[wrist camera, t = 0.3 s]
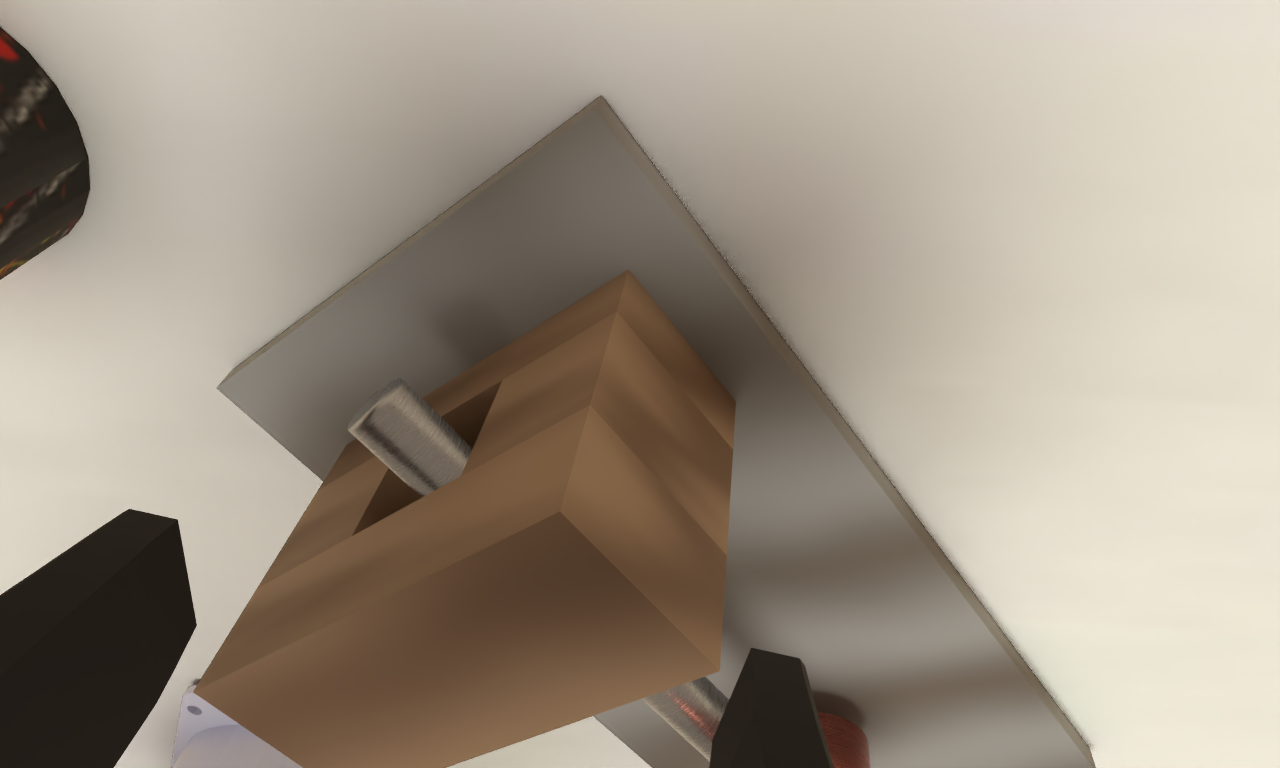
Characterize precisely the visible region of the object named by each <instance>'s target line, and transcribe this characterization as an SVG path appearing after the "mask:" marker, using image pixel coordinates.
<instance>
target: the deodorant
mask: <svg viewBox="0 0 1280 768" xmlns="http://www.w3.org/2000/svg"><path fill="white" fill-rule="evenodd" d="M89 189H90V187H89V171H88V157H87V154H86V151H85V148H84V145H83V142H82V138H81V135H80V132H79V129H78V126H77V123H76V121H75V119H74V118H73V116H72V114H71V112H70V111H69V109H68V107H67V105H66V103H65V102H64V100H63V98H62V96H61V95H60V93H59V91H58V89H57V88H56V86H55V85H54V84H53V82H52V81H51V80H50V79H49V77H48V76H47V75H46V74H45V73H44V71H43V70H42V69H41V68H40V66H39V65H38V64H37V63H36V62H35V60H34V59H33V58H32V57H31V56H30V54H29V53H28V52H27V51H26V50H25V49H24V48H23V47H22V46H20V45H19V44H18V43H17V42H16V41H15V40H14V39H12V38H11V37H10V36H9V35H8V34H7V33H6V32H4V31H3V30H2V29H1V28H0V280H1V279H2V278H4V277H5V276H7V275H8V274H10V273H11V272H13V271H14V270H16V269H17V268H19V267H20V266H21V265H23V264H24V263H26V262H27V261H29V260H30V259H32V258H33V257H35V256H36V255H38V254H39V253H41V252H42V251H44V250H45V249H47V248H48V247H49V246H51V245H52V244H54V243H55V242H57V241H58V240H60V239H61V238H63V237H64V236H66V235H67V234H68V233H69V232H70V231H71V229H72V228H73V227H74V225H75V224H76V223H77V221H78V220H79V219H80V217H81V216H82V215H83V211H84V208H85V204H86V200H87V197H88V193H89Z"/></svg>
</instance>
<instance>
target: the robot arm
mask: <svg viewBox="0 0 1280 768" xmlns="http://www.w3.org/2000/svg"><path fill="white" fill-rule="evenodd" d="M196 626H197V624H196V619H195V613H194V608H193V602H192V596H191V591H190V585H189V580H188V574H187V568H186V563H185V557H184V552H183V546H182V541H181V535H180V529H179V524H178V520H177V519H172V518H168V517H163V516H159V515H154V514H150V513H145V512H141V511H136V510H132V509H128V510H127V511H125V512H123V513H122V514H120V515H119V516H117V517H116V518H114V519H113V520H111V521H109V522H108V523H106V524H105V525H103V526H102V527H100V528H99V529H97V530H96V531H94V532H93V533H92V534H90V535H89V536H87V537H86V538H84V539H83V540H81V541H80V542H78V543H77V544H75V545H74V546H72V547H71V548H69V549H68V550H66V551H65V552H64V553H62V554H61V555H59V556H58V557H56V558H55V559H53V560H52V561H50V562H49V563H47V564H46V565H44V566H43V567H41V568H40V569H38V570H37V571H35V572H34V573H33V574H31V575H30V576H28V577H27V578H25V579H24V580H22V581H21V582H19V583H18V584H16V585H15V586H13V587H12V588H10V589H9V590H7V591H6V592H4V593H3V594H1V595H0V768H114V766H115V765H116V763H117V762H118V760H119V759H120V757H121V756H122V754H123V753H124V751H125V750H126V748H127V747H128V745H129V744H130V742H131V741H132V739H133V738H134V736H135V735H136V733H137V732H138V730H139V729H140V727H141V726H142V724H143V723H144V721H145V720H146V718H147V717H148V715H149V714H150V712H151V711H152V709H153V708H154V706H155V705H156V703H157V701H158V699H159V697H160V696H161V694H162V692H163V690H164V688H165V686H166V684H167V682H168V681H169V679H170V677H171V675H172V673H173V671H174V669H175V668H176V666H177V664H178V662H179V660H180V658H181V656H182V654H183V652H184V650H185V648H186V646H187V644H188V642H189V640H190V638H191V636H192V634H193V632H194V630H195V628H196ZM196 686H197V685H192V686H190V687H188V689H187V691H186V692H185V694H184V695H183V697H182V703H181V709H180V715H179V721H178V727H177V733H176V739H175V745H174V750H173V756H172V762H171V768H303V767H301V766H300V765H298V764H297V763H295V762H294V761H292V760H291V759H290V758H288V757H287V756H285V755H284V754H282V753H281V752H279V751H278V750H276V749H275V748H273V747H272V746H271V745H269V744H268V743H266V742H265V741H263V740H262V739H260V738H259V737H257V736H256V735H255V734H253V733H252V732H250V731H249V730H247V729H246V728H244V727H243V726H241V725H240V724H238V723H237V722H236V721H234V720H233V719H231V718H230V717H228V716H227V715H225V714H224V713H222V712H221V711H219V710H218V709H217V708H215V707H214V706H212V705H211V704H209V703H208V702H206V701H205V700H203V699H202V698H201V697H199V696H198V695H196V694H195V693H193V691H194V689H195V688H196ZM709 768H834V765H833V762H832V759H831V755H830V752H829V749H828V746H827V743H826V740H825V736H824V733H823V730H822V726H821V723H820V720H819V716H818V713H817V709H816V706H815V702H814V698H813V694H812V691H811V687H810V683H809V679H808V675H807V671H806V667H805V665H804V664H803V662H802V661H801V659H800V658H796V657H792V656H787V655H783V654H778V653H774V652H769V651H765V650H760V649H756V648H751V649H750V652H749V654H748V656H747V659H746V661H745V664H744V666H743V668H742V671H741V673H740V675H739V678H738V680H737V683H736V685H735V687H734V690H733V692H732V695H731V697H730V699H729V702H728V704H727V706H726V709H725V711H724V714H723V716H722V718H721V721H720V723H719V725H718V728H717V730H716V733H715V735H714V737H713V740H712V748H711V757H710V765H709Z"/></svg>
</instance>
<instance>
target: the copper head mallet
mask: <svg viewBox="0 0 1280 768" xmlns="http://www.w3.org/2000/svg"><path fill="white" fill-rule="evenodd" d="M348 431H349V432H350V433H351V434H353V435H354V436H355V437H356V438H357V439H358V440H359V441H360V442H361V443H362V444H363V445H365V446H366V447H367V448H368V449H369V450H370V451H371V452H372V453H373V454H374V455H375V456H377V457H378V458H379V459H380V460H381V461H382V462H383V463H384V464H385V465H386V466H387V467H389V468H390V469H391V470H392V471H393V472H394V473H395V474H396V475H397V476H398V477H399V478H401V479H402V480H403V481H404V482H405V483H406V484H407V485H408V486H409V487H410V488H411V489H413V490H414V491H415V492H416V493H417V494H418V495H419V496H420V497H421V498H422V497H424V496H426V495H428V494H430V493H431V492H433V491H435V490H437V489H439V488H440V487H442V486H444V485H446V484H448V483H450V482H451V481H453V480H455V479H457V478H459V477H460V476H461V474H462V472H463V470H464V468H465V465H466V463H467V461H468V458H469V456H470V454H471V452H472V449H473V448H472V447H471V446H470V445H469V444H468V443H467V442H466V441H465V440H464V439H463V438H462V437H461V436H460V435H459V434H458V433H457V432H456V431H455V430H454V429H453V428H452V427H451V426H450V425H449V424H448V423H447V422H446V421H445V420H444V419H443V418H442V417H441V416H440V415H439V414H437V413H436V412H435V411H434V410H433V409H432V408H431V407H430V406H429V405H428V404H427V403H426V402H425V401H424V400H423V399H422V398H421V397H420V396H419V395H418V394H417V393H416V392H415V391H414V390H413V389H412V388H411V387H410V386H409V385H408V384H407V383H406V382H405V381H404V380H403V379H402V378H397V379H395V380H393V381H391V382H389V383H388V384H386V385H385V386H383V387H382V388H381V389H379V390H378V391H377V392H376V393H375V394H374V395H373V396H371V397H370V398H369V399H368V400H367V401H366V402H365V403H364V404H363V405H362V407H361V408H360V409H359V410H358V411H357V412H356V414H355V415H354V416H353V418H352V419H351V421H350V423H349V425H348ZM642 700H643V701H644V702H645V703H646V704H647V705H648V706H649V707H651V708H652V709H653V710H654V711H655V712H656V713H657V714H658V715H659V716H660V717H661V718H663V719H664V720H665V721H666V722H667V723H668V724H669V725H670V726H671V727H672V728H674V729H675V730H676V731H677V732H678V733H679V734H680V735H681V736H682V737H683V738H684V739H686V740H687V741H688V742H689V743H690V744H691V745H692V746H693V747H694V748H695V749H696V750H698V751H699V752H700V753H701V754H702V755H703V756H704V757H705V758H706V759H707V760H708V761H710V757H711V748H712V740H713V737H714V735H715V733H716V730H717V728H718V725H719V723H720V721H721V718H722V716H723V714H724V711H725V709H726V706H727V704H728V702H729V699H728V698H727V697H726V696H725V695H724V694H723V693H722V692H721V691H720V690H719V689H718V688H717V687H716V686H715V685H714V684H713V683H712V682H711V681H710V680H709V679H707V678H706V677H702V678H699V679H696V680H693V681H691V682H688V683H685V684H682V685H679V686H676V687H674V688H671V689H668V690H665V691H662V692H659V693H656V694H654V695H651V696H648V697H645V698H642ZM817 713H818V716H819V720H820V723H821V726H822V730H823V733H824V736H825V740H826V743H827V746H828V749H829V752H830V755H831V759H832V762H833V765H834V768H871V766H870V755H869V744H868V739H867V737H866V735H865V733H864V732H863V731H862V730H861V729H860V728H859V727H858V726H857V725H856V724H854V723H853V722H851V721H849V720H847V719H845V718H842V717H839V716H836V715H832V714H827V713H819V712H817Z"/></svg>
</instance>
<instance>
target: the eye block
mask: <svg viewBox="0 0 1280 768" xmlns="http://www.w3.org/2000/svg"><path fill="white" fill-rule="evenodd" d="M397 378H402V379H403V380H404V381H405V382H406V383H407V384H408V385H409V386H410V387H411V388H412V389H413V390H414V391H415V392H416V393H417V394H418V395H419V396H420V397H421V398H422V399H423V400H424V401H425V402H426V403H427V404H428V405H429V406H430V407H431V408H432V409H433V410H434V411H435V412H436V413H437V414H439V415H440V416H441V417H442V418H443V419H444V420H445V421H446V422H447V423H448V424H449V425H450V426H451V427H452V428H453V429H454V430H455V431H456V432H457V433H458V434H459V435H460V436H461V437H462V438H463V439H464V440H465V441H466V442H467V443H468V444H469V445H470V446H471V447H472V448H473V449H472V452H471V454H470V456H469V458H468V461H467V463H466V465H465V468H464V470H463V472H462V474H461V476H460V477H459V478H457V479H455V480H453V481H451V482H450V483H448V484H446V485H444V486H442V487H440V488H439V489H437V490H435V491H433V492H431V493H430V494H428V495H426V496H424V497H422V498H421V497H420V496H419V495H418V494H417V493H416V492H415V491H414V490H413V489H411V488H410V487H409V486H408V485H407V484H406V483H405V482H404V481H403V480H402V479H401V478H399V477H398V476H397V475H396V474H395V473H394V472H393V471H392V470H391V469H390V468H389V467H387V466H386V465H385V464H384V463H383V462H382V461H381V460H380V459H379V458H378V457H377V456H375V455H374V454H373V453H372V452H371V451H370V450H369V449H368V448H367V447H366V446H365V445H363V444H362V443H361V442H360V441H359V440H358V439H357V438H356V437H355V436H354V435H353V434H351V433H350V432H349V431H348V425H349V423H350V421H351V419H352V418H353V416H354V415H355V414H356V412H357V411H358V410H359V409H360V408H361V407H362V405H363V404H364V403H365V402H366V401H367V400H368V399H369V398H370V397H371V396H373V395H374V394H375V393H376V392H377V391H378V390H379V389H381V388H382V387H383V386H385V385H386V384H388V383H389V382H391V381H393V380H395V379H397ZM217 389H218V390H219V391H220V392H221V393H223V394H224V395H225V396H226V397H227V398H228V399H230V400H231V401H232V402H233V403H234V404H235V405H236V406H238V407H239V408H240V409H241V410H242V411H243V412H244V413H246V414H247V415H248V416H249V417H250V418H251V419H252V420H254V421H255V422H256V423H257V424H258V425H259V426H261V427H262V428H263V429H264V430H265V431H266V432H267V433H269V434H270V435H271V436H272V437H273V438H274V439H275V440H277V441H278V442H279V443H280V444H281V445H282V446H284V447H285V448H286V449H287V450H288V451H289V452H290V453H292V454H293V455H294V456H295V457H296V458H297V459H298V460H300V461H301V462H302V463H303V464H304V465H305V466H306V467H308V468H309V469H310V470H311V471H312V472H313V473H315V474H316V475H317V476H318V477H319V478H320V479H321V480H323V481H324V482H323V483H322V485H321V486H320V488H319V490H318V491H317V493H316V495H315V496H314V498H313V499H312V501H311V503H310V504H309V506H308V507H307V509H306V511H305V512H304V514H303V515H302V517H301V519H300V520H299V522H298V524H297V525H296V527H295V528H294V530H293V532H292V533H291V535H290V536H289V538H288V540H287V541H286V543H285V544H284V546H283V548H282V549H281V551H280V552H279V554H278V556H277V557H276V559H275V561H274V562H273V564H272V565H271V567H270V569H269V570H268V572H267V573H266V575H265V577H264V578H263V580H262V581H261V583H260V585H259V586H258V588H257V590H256V591H255V593H254V594H253V596H252V598H251V599H250V601H249V602H248V604H247V606H246V607H245V609H244V610H243V612H242V614H241V615H240V617H239V619H238V620H237V622H236V623H235V625H234V627H233V628H232V630H231V631H230V633H229V635H228V636H227V638H226V639H225V641H224V643H223V644H222V646H221V648H220V649H219V651H218V652H217V654H216V656H215V657H214V659H213V660H212V662H211V664H210V665H209V667H208V668H207V670H206V672H205V673H204V675H203V676H202V678H201V680H200V681H199V683H198V685H197V686H196V688H195V689H194V691H193V693H195V694H196V695H198V696H199V697H201V698H202V699H203V700H205V701H206V702H208V703H209V704H211V705H212V706H214V707H215V708H217V709H218V710H219V711H221V712H222V713H224V714H225V715H227V716H228V717H230V718H231V719H233V720H234V721H236V722H237V723H238V724H240V725H241V726H243V727H244V728H246V729H247V730H249V731H250V732H252V733H253V734H255V735H256V736H257V737H259V738H260V739H262V740H263V741H265V742H266V743H268V744H269V745H271V746H272V747H273V748H275V749H276V750H278V751H279V752H281V753H282V754H284V755H285V756H287V757H288V758H290V759H291V760H292V761H294V762H295V763H297V764H298V765H300V766H301V767H303V768H446V767H449V766H452V765H455V764H457V763H460V762H463V761H466V760H469V759H472V758H474V757H477V756H480V755H483V754H486V753H489V752H491V751H494V750H497V749H500V748H503V747H506V746H509V745H511V744H514V743H517V742H520V741H523V740H526V739H528V738H531V737H534V736H537V735H540V734H543V733H546V732H548V731H551V730H554V729H557V728H560V727H563V726H565V725H568V724H571V723H574V722H577V721H580V720H582V719H585V718H588V717H591V716H594V717H595V718H596V719H597V720H598V721H599V722H601V723H602V724H603V725H604V726H605V727H606V728H607V729H609V730H610V731H611V732H612V733H613V734H614V735H615V736H617V737H618V738H619V739H620V740H621V741H622V742H623V743H625V744H626V745H627V746H628V747H629V748H630V749H632V750H633V751H634V752H635V753H636V754H637V755H638V756H640V757H641V758H642V759H643V760H644V761H645V762H646V763H648V764H649V765H650V766H651V767H652V768H709V765H710V761H708V760H707V759H706V758H705V757H704V756H703V755H702V754H701V753H700V752H699V751H698V750H696V749H695V748H694V747H693V746H692V745H691V744H690V743H689V742H688V741H687V740H686V739H684V738H683V737H682V736H681V735H680V734H679V733H678V732H677V731H676V730H675V729H674V728H672V727H671V726H670V725H669V724H668V723H667V722H666V721H665V720H664V719H663V718H661V717H660V716H659V715H658V714H657V713H656V712H655V711H654V710H653V709H652V708H651V707H649V706H648V705H647V704H646V703H645V702H644V701H643V700H642V698H645V697H648V696H651V695H654V694H656V693H659V692H662V691H665V690H668V689H671V688H674V687H676V686H679V685H682V684H685V683H688V682H691V681H693V680H696V679H699V678H702V677H706V678H707V679H709V680H710V681H711V682H712V683H713V684H714V685H715V686H716V687H717V688H718V689H719V690H720V691H721V692H722V693H723V694H724V695H725V696H726V697H727V698H728V699H730V697H731V695H732V692H733V690H734V687H735V685H736V683H737V680H738V678H739V675H740V673H741V671H742V668H743V666H744V664H745V661H746V659H747V656H748V654H749V652H750V649H751V648H756V649H760V650H765V651H769V652H774V653H778V654H783V655H787V656H792V657H796V658H800V659H801V661H802V662H803V664H804V665H805V667H806V671H807V675H808V679H809V683H810V687H811V691H812V694H813V698H814V702H815V706H816V709H817V712H819V713H827V714H832V715H836V716H839V717H842V718H845V719H847V720H849V721H851V722H853V723H854V724H856V725H857V726H858V727H859V728H860V729H861V730H862V731H863V732H864V733H865V735H866V737H867V739H868V744H869V755H870V766H871V768H1096V767H1095V764H1094V760H1093V757H1092V754H1091V751H1090V749H1089V747H1088V746H1087V745H1086V743H1085V742H1084V741H1083V739H1082V738H1081V737H1080V735H1079V734H1078V733H1077V731H1076V730H1075V728H1074V727H1073V726H1072V724H1071V723H1070V722H1069V720H1068V719H1067V718H1066V716H1065V715H1064V714H1063V712H1062V711H1061V710H1060V708H1059V707H1058V706H1057V704H1056V703H1055V702H1054V700H1053V699H1052V698H1051V696H1050V695H1049V694H1048V692H1047V691H1046V690H1045V688H1044V687H1043V686H1042V684H1041V683H1040V682H1039V680H1038V679H1037V678H1036V676H1035V675H1034V674H1033V672H1032V671H1031V670H1030V668H1029V667H1028V666H1027V664H1026V663H1025V662H1024V660H1023V659H1022V658H1021V656H1020V655H1019V654H1018V652H1017V651H1016V650H1015V648H1014V647H1013V646H1012V644H1011V643H1010V642H1009V640H1008V639H1007V638H1006V636H1005V635H1004V633H1003V632H1002V631H1001V629H1000V628H999V627H998V625H997V624H996V623H995V621H994V620H993V619H992V617H991V616H990V615H989V613H988V612H987V611H986V609H985V608H984V607H983V605H982V604H981V603H980V601H979V600H978V599H977V597H976V596H975V595H974V593H973V592H972V591H971V589H970V588H969V587H968V585H967V584H966V583H965V581H964V580H963V579H962V577H961V576H960V575H959V573H958V572H957V571H956V569H955V568H954V567H953V565H952V564H951V563H950V561H949V560H948V559H947V557H946V556H945V555H944V553H943V552H942V551H941V549H940V548H939V547H938V545H937V544H936V542H935V541H934V540H933V538H932V537H931V536H930V534H929V533H928V532H927V530H926V529H925V528H924V526H923V525H922V524H921V522H920V521H919V520H918V518H917V517H916V516H915V514H914V513H913V512H912V510H911V509H910V508H909V506H908V505H907V504H906V502H905V501H904V500H903V498H902V497H901V496H900V494H899V493H898V492H897V490H896V489H895V488H894V486H893V485H892V484H891V482H890V481H889V480H888V478H887V477H886V476H885V474H884V473H883V472H882V470H881V469H880V468H879V466H878V465H877V464H876V462H875V461H874V460H873V458H872V457H871V456H870V454H869V453H868V452H867V450H866V449H865V447H864V446H863V445H862V443H861V442H860V441H859V439H858V438H857V437H856V435H855V434H854V433H853V431H852V430H851V429H850V427H849V426H848V425H847V423H846V422H845V421H844V419H843V418H842V417H841V415H840V414H839V413H838V411H837V410H836V409H835V407H834V406H833V405H832V403H831V402H830V401H829V399H828V398H827V397H826V395H825V394H824V393H823V391H822V390H821V389H820V387H819V386H818V385H817V383H816V382H815V381H814V379H813V378H812V377H811V375H810V374H809V373H808V371H807V370H806V369H805V367H804V366H803V365H802V363H801V362H800V361H799V359H798V358H797V356H796V355H795V354H794V352H793V351H792V350H791V348H790V347H789V346H788V344H787V343H786V342H785V340H784V339H783V338H782V336H781V335H780V334H779V332H778V331H777V330H776V328H775V327H774V326H773V324H772V323H771V322H770V320H769V319H768V318H767V316H766V315H765V314H764V312H763V311H762V310H761V308H760V307H759V306H758V304H757V303H756V302H755V300H754V299H753V298H752V296H751V295H750V294H749V292H748V291H747V290H746V288H745V287H744V286H743V284H742V283H741V282H740V280H739V279H738V278H737V276H736V275H735V274H734V272H733V271H732V270H731V268H730V267H729V266H728V264H727V263H726V261H725V260H724V259H723V257H722V256H721V255H720V253H719V252H718V251H717V249H716V248H715V247H714V245H713V244H712V243H711V241H710V240H709V239H708V237H707V236H706V235H705V233H704V232H703V231H702V229H701V228H700V227H699V225H698V224H697V223H696V221H695V220H694V219H693V217H692V216H691V215H690V213H689V212H688V211H687V209H686V208H685V207H684V205H683V204H682V203H681V201H680V200H679V199H678V197H677V196H676V195H675V193H674V192H673V191H672V189H671V188H670V187H669V185H668V184H667V183H666V181H665V180H664V179H663V177H662V176H661V175H660V173H659V172H658V170H657V169H656V168H655V166H654V165H653V164H652V162H651V161H650V160H649V158H648V157H647V156H646V154H645V153H644V152H643V150H642V149H641V148H640V146H639V145H638V144H637V142H636V141H635V140H634V138H633V137H632V136H631V134H630V133H629V132H628V130H627V129H626V128H625V126H624V125H623V124H622V122H621V121H620V120H619V118H618V117H617V116H616V114H615V113H614V112H613V110H612V109H611V108H610V106H609V105H608V104H607V102H606V101H605V100H604V98H603V97H602V96H600V97H599V98H597V99H596V100H595V101H593V102H592V103H591V104H589V105H588V106H587V107H585V108H584V109H582V110H581V111H580V112H578V113H577V114H576V115H574V116H573V117H572V118H570V119H569V120H568V121H566V122H565V123H564V124H562V125H561V126H560V127H558V128H557V129H556V130H554V131H553V132H552V133H550V134H549V135H548V136H546V137H545V138H543V139H542V140H541V141H539V142H538V143H537V144H535V145H534V146H533V147H531V148H530V149H529V150H527V151H526V152H525V153H523V154H522V155H521V156H519V157H518V158H517V159H515V160H514V161H513V162H511V163H510V164H509V165H507V166H506V167H504V168H503V169H502V170H500V171H499V172H498V173H496V174H495V175H494V176H492V177H491V178H490V179H488V180H487V181H486V182H484V183H483V184H482V185H480V186H479V187H478V188H476V189H475V190H474V191H472V192H471V193H470V194H468V195H467V196H465V197H464V198H463V199H461V200H460V201H459V202H457V203H456V204H455V205H453V206H452V207H451V208H449V209H448V210H447V211H445V212H444V213H443V214H441V215H440V216H439V217H437V218H436V219H435V220H433V221H432V222H431V223H429V224H428V225H426V226H425V227H424V228H422V229H421V230H420V231H418V232H417V233H416V234H414V235H413V236H412V237H410V238H409V239H408V240H406V241H405V242H404V243H402V244H401V245H400V246H398V247H397V248H396V249H394V250H393V251H392V252H390V253H389V254H387V255H386V256H385V257H383V258H382V259H381V260H379V261H378V262H377V263H375V264H374V265H373V266H371V267H370V268H369V269H367V270H366V271H365V272H363V273H362V274H361V275H359V276H358V277H357V278H355V279H354V280H353V281H351V282H350V283H348V284H347V285H346V286H344V287H343V288H342V289H340V290H339V291H338V292H336V293H335V294H334V295H332V296H331V297H330V298H328V299H327V300H326V301H324V302H323V303H322V304H320V305H319V306H318V307H316V308H315V309H314V310H312V311H311V312H309V313H308V314H307V315H305V316H304V317H303V318H301V319H300V320H299V321H297V322H296V323H295V324H293V325H292V326H291V327H289V328H288V329H287V330H285V331H284V332H283V333H281V334H280V335H279V336H277V337H276V338H275V339H273V340H272V341H270V342H269V343H268V344H266V345H265V346H264V347H262V348H261V349H260V350H258V351H257V352H256V353H254V354H253V355H252V356H250V357H249V358H248V359H246V360H245V361H244V362H242V363H241V364H240V365H238V366H237V367H236V368H234V369H233V370H232V371H231V372H230V373H229V374H228V375H227V377H226V378H225V379H224V380H223V381H222V382H221V383H220V385H219V386H218V387H217Z"/></svg>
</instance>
